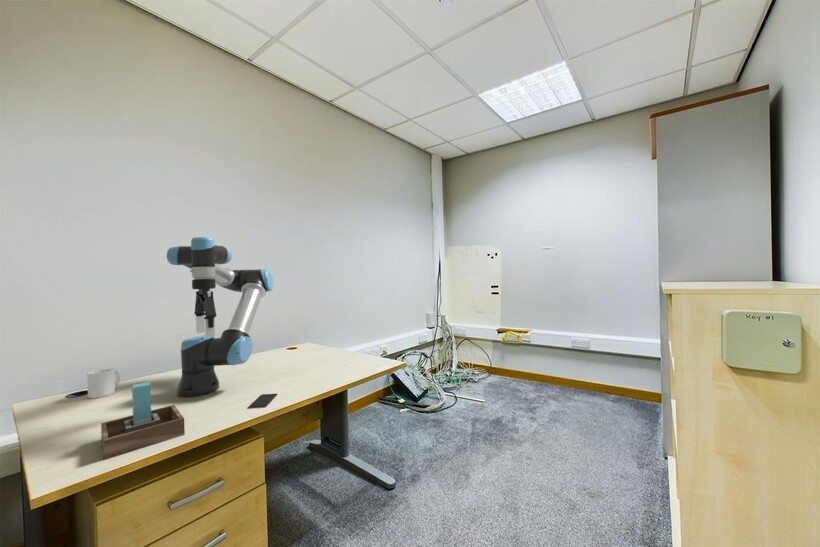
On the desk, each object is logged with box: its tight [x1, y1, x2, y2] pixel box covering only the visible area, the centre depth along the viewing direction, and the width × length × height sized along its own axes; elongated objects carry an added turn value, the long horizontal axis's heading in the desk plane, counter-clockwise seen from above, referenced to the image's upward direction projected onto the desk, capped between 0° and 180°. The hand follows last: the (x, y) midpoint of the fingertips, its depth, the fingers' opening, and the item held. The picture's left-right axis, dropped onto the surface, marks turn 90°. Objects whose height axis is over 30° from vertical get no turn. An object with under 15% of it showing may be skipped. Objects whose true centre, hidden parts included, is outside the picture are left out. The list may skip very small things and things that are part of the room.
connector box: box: [100, 404, 186, 460], centre depth 98 cm, size 16×18×5 cm
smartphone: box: [247, 393, 278, 410], centre depth 124 cm, size 7×1×14 cm
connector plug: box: [131, 381, 152, 426], centre depth 100 cm, size 4×4×14 cm
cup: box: [86, 367, 120, 399], centre depth 139 cm, size 8×12×10 cm
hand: (205, 334), depth 122 cm, fingers open, 13 cm apart
